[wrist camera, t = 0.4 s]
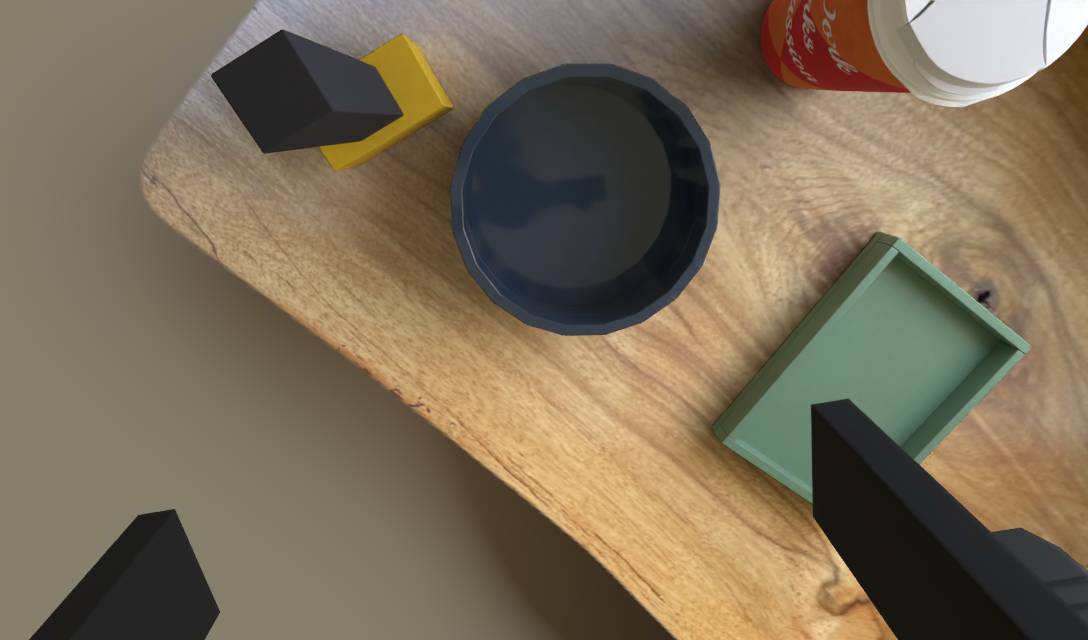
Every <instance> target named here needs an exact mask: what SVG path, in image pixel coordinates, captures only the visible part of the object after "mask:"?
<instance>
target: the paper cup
mask: <svg viewBox="0 0 1088 640" xmlns="http://www.w3.org/2000/svg"><path fill="white" fill-rule="evenodd" d="M1087 25H1088V0H772V2H771V4H770V5H769V7H768V9H767V11H766V13H765V16H764V19H763V22H762V27H761V49H762V53H763V56H764V59H765V61H766V63H767V65H768V67H769V68H770V70H771V71H772V72H773V74H774V75H775V76H776V77H778V78H779V79H780V80H782V81H783V82H785V83H787V84H789V85H792V86H794V87H798V88H805V89H816V90H836V91H866V92H904V93H912V94H913V95H914V96H915V97H916V98H918V99H920V100H923V101H925V102H928V103H931V104H935V105H940V106H945V107H965V106H967V105H970V104H973V103H976V102H979V101H982V100H985V99H988V98H992V97H995V96H998V95H1000V94H1002V93H1005V92H1007V91H1009V90H1011V89H1013V88H1015V87H1017V86H1018V85H1020V84H1021V83H1023V82H1024V81H1026V80H1027V79H1029V78H1030V77H1032V76H1033V75H1034V74H1035V73H1036V72H1037V71H1040V70H1042V69H1044V68H1046V67H1047V66H1049V65H1050V64H1052V63H1053V62H1054V61H1055V60H1056V59H1057V58H1058V57H1060V56H1061V55H1062V54H1063V53H1064V52H1065V51H1066V50H1067V49H1068V48H1069V47H1070V46H1071V45H1072V44H1073V43H1074V42H1075V40H1076V39H1077V38H1078V37H1079V36H1080V34H1081V33H1082V32H1083V30H1084V29H1085V27H1086V26H1087Z"/></svg>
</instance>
